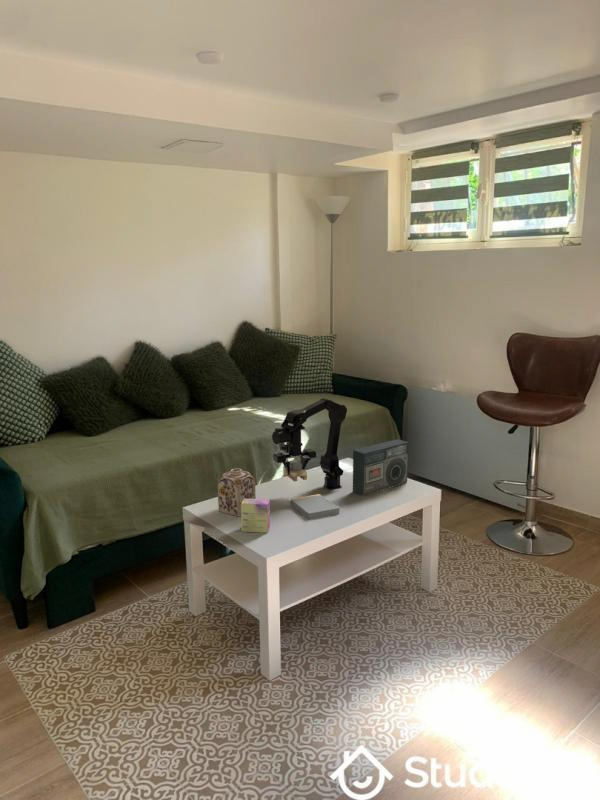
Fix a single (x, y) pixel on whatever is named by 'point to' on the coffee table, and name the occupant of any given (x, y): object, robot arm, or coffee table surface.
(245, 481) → the decorative jar
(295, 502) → the dock
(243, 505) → the box
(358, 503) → the coffee table surface
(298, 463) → the gray rectangular block
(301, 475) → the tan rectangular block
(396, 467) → the cassette player
